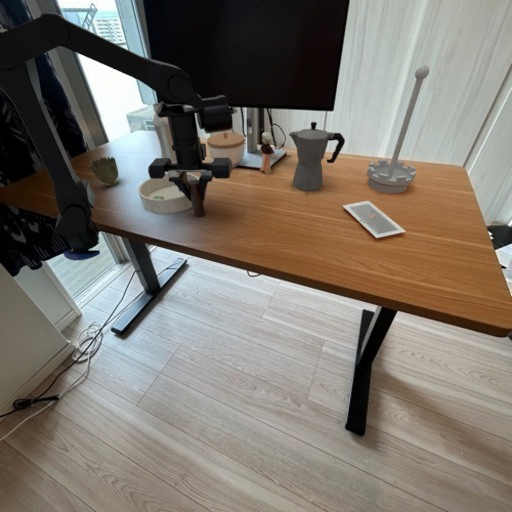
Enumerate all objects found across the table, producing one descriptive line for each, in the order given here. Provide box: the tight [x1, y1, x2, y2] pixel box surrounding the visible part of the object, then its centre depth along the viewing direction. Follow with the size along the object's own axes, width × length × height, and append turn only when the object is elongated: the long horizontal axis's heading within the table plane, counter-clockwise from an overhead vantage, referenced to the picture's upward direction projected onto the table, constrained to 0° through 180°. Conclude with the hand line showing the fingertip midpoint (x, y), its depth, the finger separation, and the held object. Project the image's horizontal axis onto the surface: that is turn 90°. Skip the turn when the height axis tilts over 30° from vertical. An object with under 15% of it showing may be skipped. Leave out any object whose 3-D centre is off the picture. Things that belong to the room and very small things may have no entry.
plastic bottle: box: [152, 102, 177, 163], centre depth 91 cm, size 6×7×20 cm
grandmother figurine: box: [259, 131, 276, 175], centre depth 87 cm, size 8×4×13 cm, turn 44°
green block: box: [152, 196, 164, 199], centre depth 74 cm, size 2×2×2 cm
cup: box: [88, 156, 119, 188], centre depth 84 cm, size 8×7×8 cm
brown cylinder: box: [188, 180, 206, 218], centre depth 68 cm, size 3×3×9 cm
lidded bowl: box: [206, 131, 245, 169], centre depth 93 cm, size 13×13×11 cm
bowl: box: [137, 172, 200, 215], centre depth 78 cm, size 17×17×4 cm
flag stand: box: [366, 64, 430, 194], centre depth 72 cm, size 13×13×30 cm
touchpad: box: [342, 200, 407, 239], centre depth 67 cm, size 8×15×2 cm, turn 16°
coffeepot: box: [288, 121, 346, 192], centre depth 77 cm, size 15×9×18 cm, turn 72°
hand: (197, 200), depth 69 cm, fingers closed on brown cylinder, 3 cm apart
